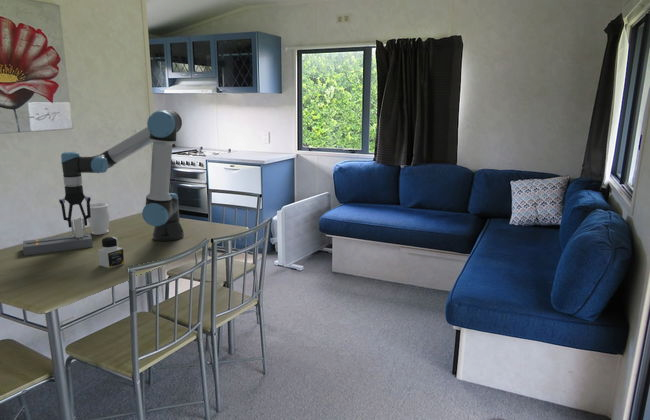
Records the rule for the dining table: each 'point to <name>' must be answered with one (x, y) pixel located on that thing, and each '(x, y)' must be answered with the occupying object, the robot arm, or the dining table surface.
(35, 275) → the dining table surface
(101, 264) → the medicine bottle
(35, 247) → the slider console
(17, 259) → the dining table surface
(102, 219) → the jar
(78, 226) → the fader tab
